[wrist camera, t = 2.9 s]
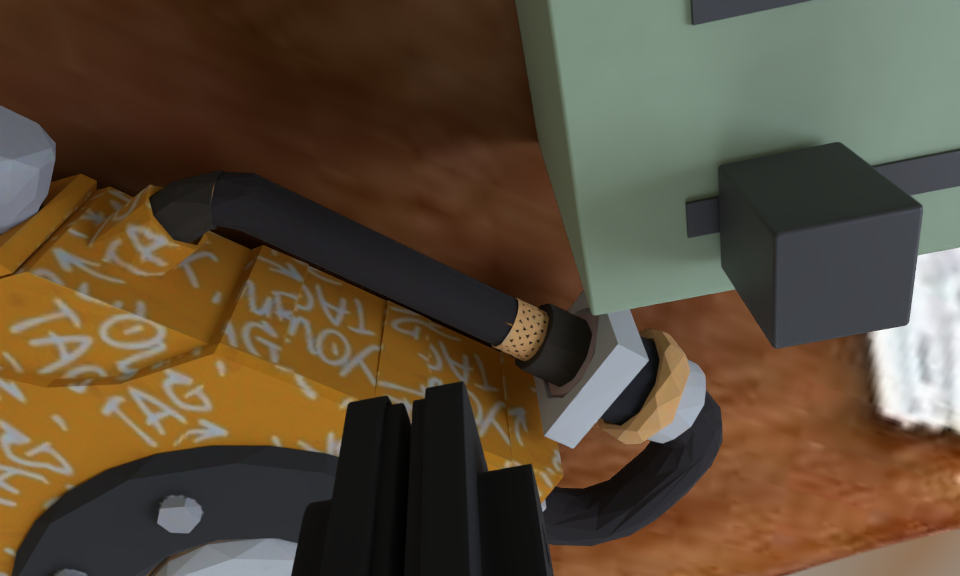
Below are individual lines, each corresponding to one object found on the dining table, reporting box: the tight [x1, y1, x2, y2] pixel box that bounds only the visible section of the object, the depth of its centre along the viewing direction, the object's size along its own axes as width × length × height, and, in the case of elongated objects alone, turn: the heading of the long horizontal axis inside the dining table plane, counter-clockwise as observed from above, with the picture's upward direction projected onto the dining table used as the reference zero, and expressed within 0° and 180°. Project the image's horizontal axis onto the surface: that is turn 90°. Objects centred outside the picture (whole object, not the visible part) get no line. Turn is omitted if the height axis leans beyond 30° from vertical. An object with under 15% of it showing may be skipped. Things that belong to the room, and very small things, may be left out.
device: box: [0, 105, 722, 576], centre depth 27 cm, size 23×8×30 cm
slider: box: [718, 142, 923, 348], centre depth 14 cm, size 2×2×3 cm
